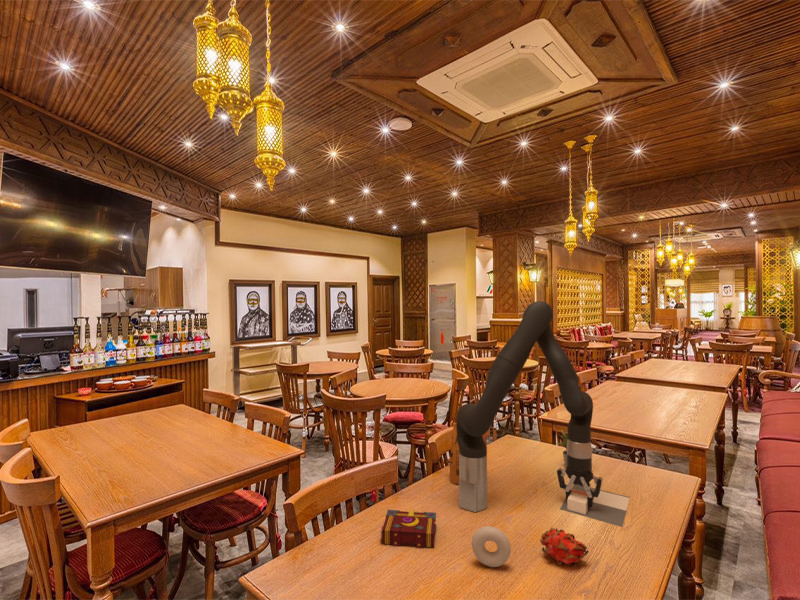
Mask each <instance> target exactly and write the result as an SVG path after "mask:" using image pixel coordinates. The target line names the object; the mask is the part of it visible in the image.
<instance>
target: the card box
mask: <svg viewBox="0 0 800 600" xmlns="http://www.w3.org/2000/svg"><path fill="white" fill-rule="evenodd" d="M587 497H588V494H587V492H583V491H579V490H575V489H573V490H572V492H571V494H570V495H569V497H568V499H567V510H571V511H574V512H578V513H581V514H585V515H586V513H587V511H588V509H589V508H588V500H587Z"/></svg>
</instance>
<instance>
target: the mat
mask: <svg viewBox="0 0 800 600" xmlns="http://www.w3.org/2000/svg"><path fill="white" fill-rule="evenodd" d="M591 488H592V491H595V488H596V487H595V488H594V487H591ZM573 489H575V490H579V491H583V492H586V491H585V489H584V487H583V486H580V485H575V484H573V485H572V487H571V489H570V490H571V492H572V490H573ZM630 498H631V496H627V495H624V494H620V493H615V492H610V491H605V490H602V489H600V493H599V495H598V497H593V505H592V507H590V509H588V511H587V513H586V515H585V514H581V513H578V512H574V511H571V510H567V501H566V498H565V499H564V501H563V502H562V505H561V506H560V508H559V510H561V511H564V512H567V513H572V514H574V515H578V516H581V517H586V518H589V519H592V520H596V521H599V522H603V523H606V524H610V525H613V526H617V527H620V528H623V526H624V523H625V518H626V515H627V511H628V507H629V502H630Z"/></svg>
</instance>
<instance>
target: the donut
mask: <svg viewBox="0 0 800 600" xmlns="http://www.w3.org/2000/svg"><path fill="white" fill-rule="evenodd" d="M487 542H493V543H495V544H496V547H497V549H496V550H495V551H491V550H490V551H489V550H487V548H486V546H485V544H486V543H487ZM471 549H472V552H473V554H474V556H475V558H476V559H477V560H478V561H479V562H480V563H481V564H482V565H484V566H487V567H490V568H498V567H501V566H503V565H505V564H506V563H507V562H508V560H509V559H510V557H511V552H512V547H511V543H510V540H509V538H508V535H506V533H504V531H502V530H501V529H499V528H498V527H496V526H495V527H494V526H492V525H491V526H490V525H487V526H483V527H480V528H478V529H477V530H476V531H475V532H474V534H473V536H472V539H471Z"/></svg>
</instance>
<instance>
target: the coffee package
mask: <svg viewBox="0 0 800 600" xmlns="http://www.w3.org/2000/svg"><path fill="white" fill-rule="evenodd" d="M451 436H452V437H451V440H452V442H451V450H450V455H449V476H450V477H449V478H450V483H451V484H452V485H459V446H458V442H457V425H456V421H455V422H453V424H452V435H451Z"/></svg>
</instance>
